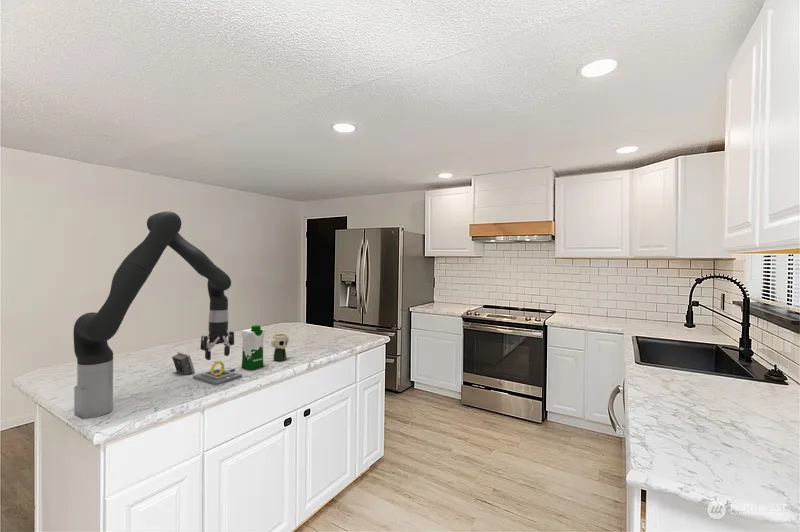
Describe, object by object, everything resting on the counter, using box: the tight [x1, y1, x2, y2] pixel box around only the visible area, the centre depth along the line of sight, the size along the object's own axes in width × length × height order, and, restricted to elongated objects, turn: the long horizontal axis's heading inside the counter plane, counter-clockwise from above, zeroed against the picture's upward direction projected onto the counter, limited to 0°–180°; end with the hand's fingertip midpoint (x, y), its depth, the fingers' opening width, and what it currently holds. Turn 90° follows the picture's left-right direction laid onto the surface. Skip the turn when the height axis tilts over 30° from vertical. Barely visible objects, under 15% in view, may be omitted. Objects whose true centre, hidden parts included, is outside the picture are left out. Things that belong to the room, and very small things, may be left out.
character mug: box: [270, 332, 290, 361], centre depth 188 cm, size 11×7×13 cm, turn 149°
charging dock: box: [192, 368, 243, 386], centre depth 162 cm, size 17×16×2 cm
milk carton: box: [240, 324, 266, 371], centre depth 175 cm, size 9×9×20 cm
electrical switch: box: [171, 351, 196, 376], centre depth 164 cm, size 9×5×9 cm, turn 57°
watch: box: [210, 360, 225, 376], centre depth 159 cm, size 6×3×6 cm, turn 160°
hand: (217, 357), depth 159 cm, fingers open, 8 cm apart
